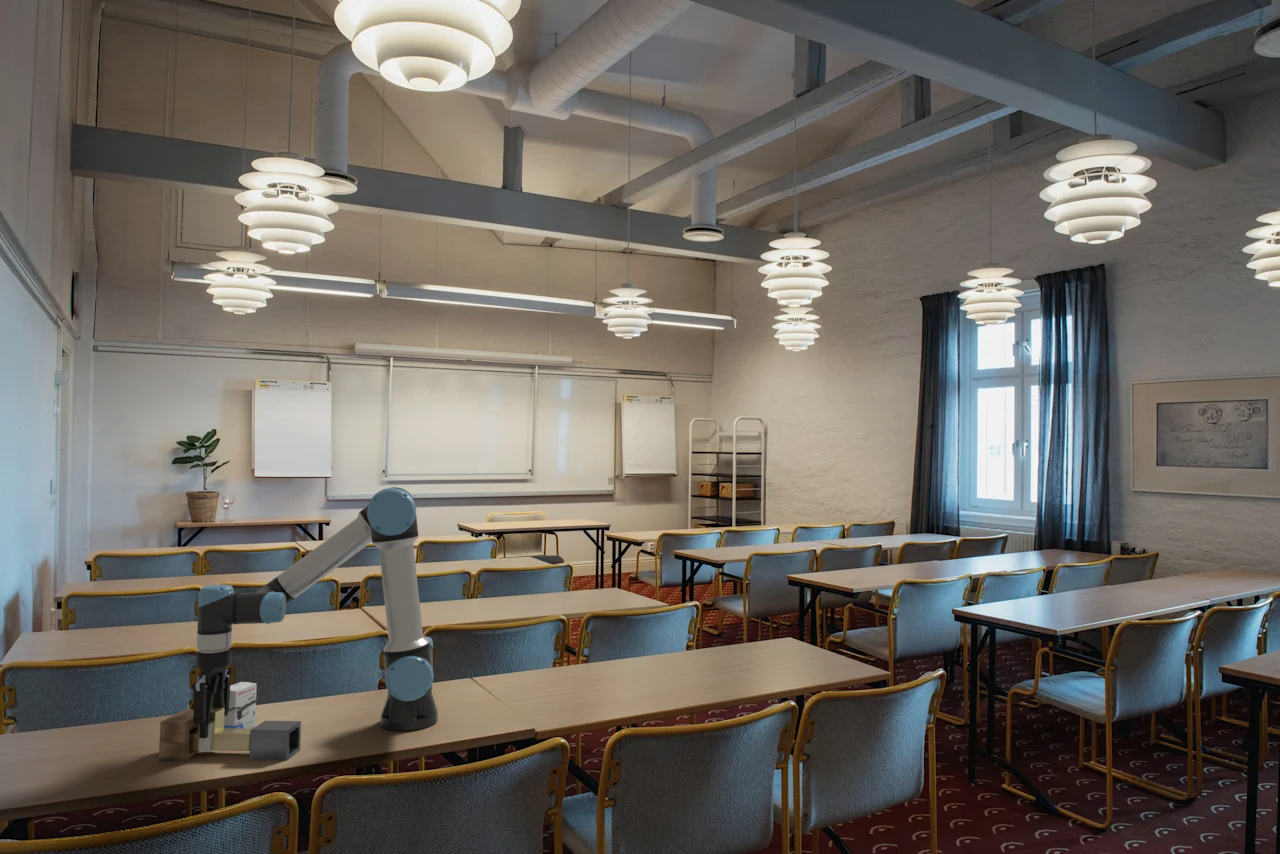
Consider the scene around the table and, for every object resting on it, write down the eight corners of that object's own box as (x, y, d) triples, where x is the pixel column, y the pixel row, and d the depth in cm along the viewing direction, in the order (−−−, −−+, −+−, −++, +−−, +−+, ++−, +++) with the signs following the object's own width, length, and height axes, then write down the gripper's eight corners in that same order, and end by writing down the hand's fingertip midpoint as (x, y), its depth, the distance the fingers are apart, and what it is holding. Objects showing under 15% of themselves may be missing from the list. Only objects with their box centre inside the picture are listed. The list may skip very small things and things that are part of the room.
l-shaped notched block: (257, 745, 195) (258, 708, 195) (248, 751, 191) (250, 712, 191) (189, 744, 195) (190, 707, 196) (179, 750, 191) (180, 712, 192)
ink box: (234, 737, 205) (235, 690, 206) (217, 735, 206) (218, 689, 207) (256, 726, 214) (257, 682, 214) (240, 725, 215) (241, 681, 215)
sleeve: (300, 750, 196) (301, 721, 196) (286, 760, 189) (287, 730, 189) (264, 749, 196) (265, 720, 197) (249, 759, 189) (250, 729, 190)
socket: (207, 746, 198) (209, 709, 199) (183, 761, 188) (185, 722, 189) (184, 746, 198) (185, 709, 199) (158, 760, 188) (160, 722, 189)
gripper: (218, 642, 203) (215, 735, 202) (177, 657, 186) (173, 759, 185) (247, 642, 203) (244, 735, 202) (209, 658, 186) (205, 760, 185)
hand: (210, 747), depth 193 cm, fingers closed on l-shaped notched block, 4 cm apart
